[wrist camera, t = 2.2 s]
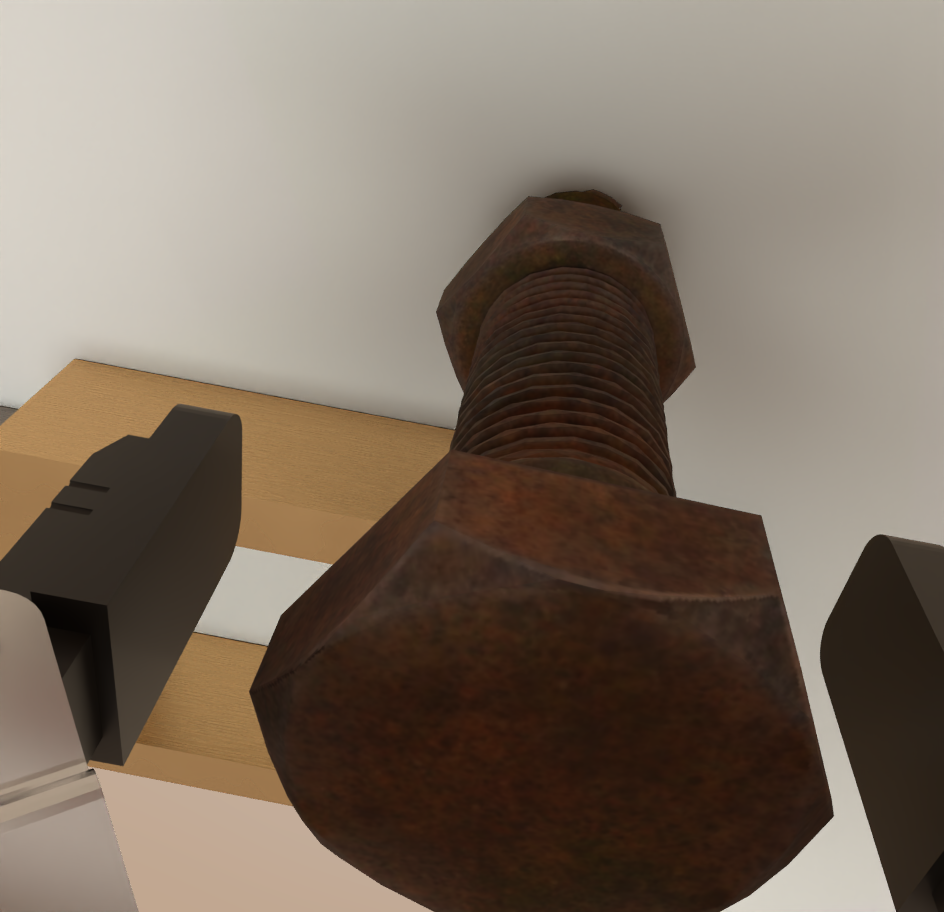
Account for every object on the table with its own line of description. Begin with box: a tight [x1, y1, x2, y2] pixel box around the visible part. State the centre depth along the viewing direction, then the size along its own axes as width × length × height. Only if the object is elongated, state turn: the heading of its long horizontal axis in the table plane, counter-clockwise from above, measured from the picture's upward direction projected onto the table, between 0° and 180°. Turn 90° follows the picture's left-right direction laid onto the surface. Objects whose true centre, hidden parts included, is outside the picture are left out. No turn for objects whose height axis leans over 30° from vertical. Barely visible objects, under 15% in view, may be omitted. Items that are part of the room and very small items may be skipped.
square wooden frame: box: [0, 359, 455, 806], centre depth 25 cm, size 11×11×4 cm
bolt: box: [249, 190, 834, 912], centre depth 15 cm, size 6×5×15 cm
